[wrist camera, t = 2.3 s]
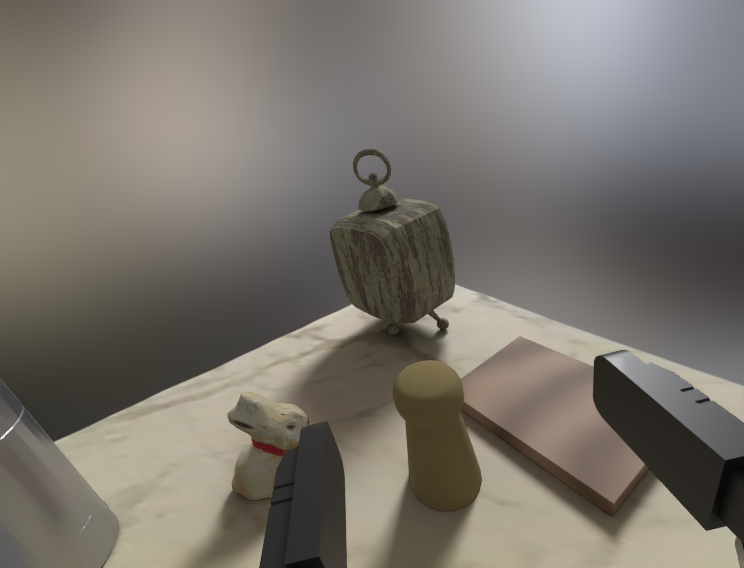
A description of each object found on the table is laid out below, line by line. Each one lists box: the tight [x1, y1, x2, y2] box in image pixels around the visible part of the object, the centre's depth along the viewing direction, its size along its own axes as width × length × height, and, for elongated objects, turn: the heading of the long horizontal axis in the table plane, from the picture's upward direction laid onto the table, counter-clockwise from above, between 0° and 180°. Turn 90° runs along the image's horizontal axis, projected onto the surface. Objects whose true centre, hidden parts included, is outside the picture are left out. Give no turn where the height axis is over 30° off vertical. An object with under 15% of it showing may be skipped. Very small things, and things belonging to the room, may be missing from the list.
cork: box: [393, 360, 482, 511], centre depth 28 cm, size 6×6×11 cm
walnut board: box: [461, 337, 649, 517], centre depth 33 cm, size 16×12×2 cm
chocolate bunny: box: [228, 392, 309, 501], centre depth 32 cm, size 6×8×10 cm
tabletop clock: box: [330, 149, 455, 335], centre depth 47 cm, size 14×9×25 cm, turn 38°
